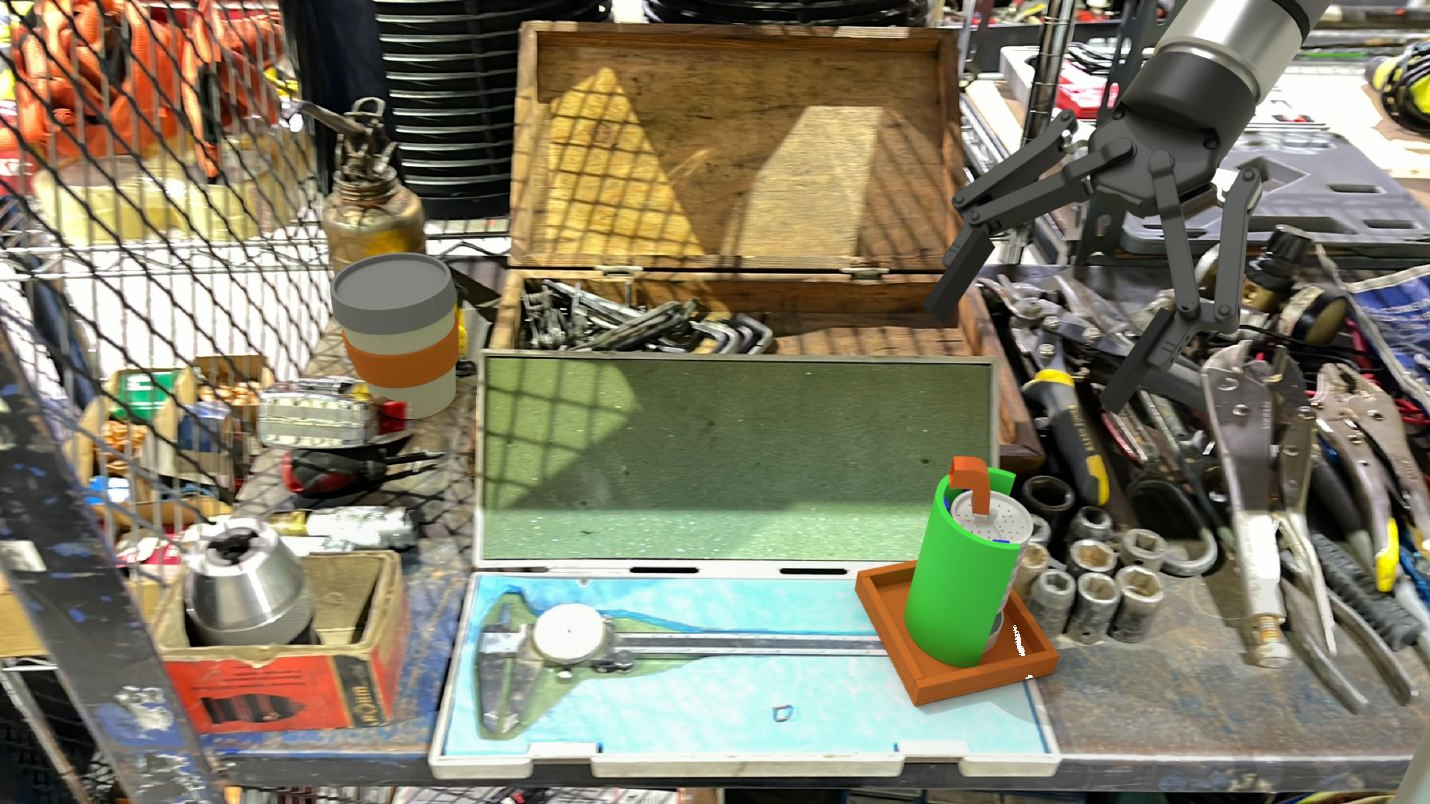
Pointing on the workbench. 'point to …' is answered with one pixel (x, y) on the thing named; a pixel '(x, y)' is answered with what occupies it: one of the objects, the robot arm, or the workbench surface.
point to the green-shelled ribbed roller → (967, 563)
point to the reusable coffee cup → (400, 327)
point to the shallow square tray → (934, 678)
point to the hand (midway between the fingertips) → (1014, 358)
